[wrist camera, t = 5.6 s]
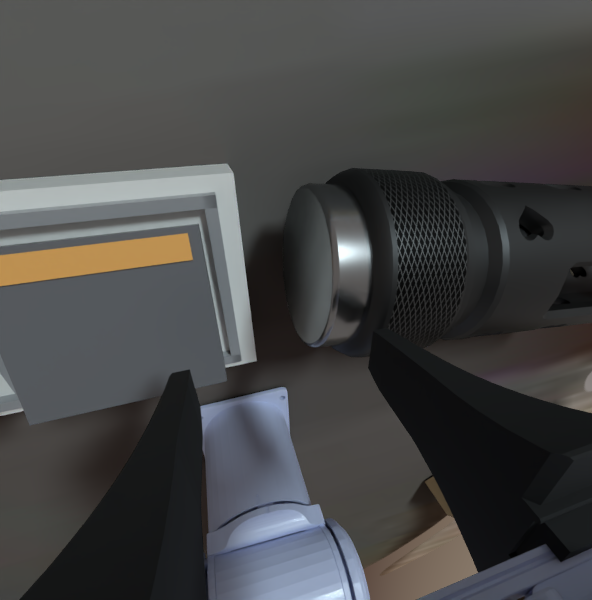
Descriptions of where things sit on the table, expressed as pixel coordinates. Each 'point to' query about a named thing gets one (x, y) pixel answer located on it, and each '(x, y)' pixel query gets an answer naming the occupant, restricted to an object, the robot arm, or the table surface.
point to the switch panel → (140, 216)
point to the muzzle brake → (434, 258)
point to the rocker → (106, 319)
